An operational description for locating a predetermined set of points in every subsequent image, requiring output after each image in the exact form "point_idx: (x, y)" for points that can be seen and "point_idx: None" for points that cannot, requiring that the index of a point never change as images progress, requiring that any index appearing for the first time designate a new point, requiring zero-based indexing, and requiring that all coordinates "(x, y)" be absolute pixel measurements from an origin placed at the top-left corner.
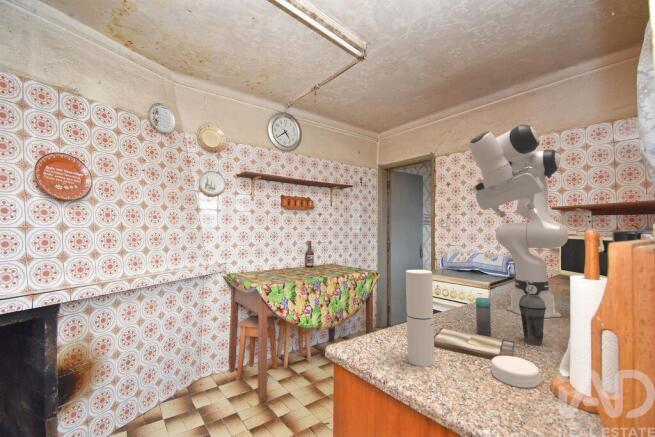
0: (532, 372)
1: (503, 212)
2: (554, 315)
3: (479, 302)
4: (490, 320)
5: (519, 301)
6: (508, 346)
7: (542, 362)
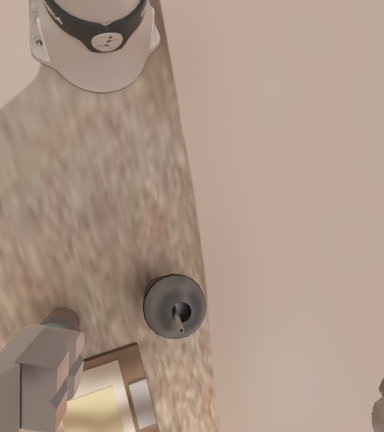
0: None
1: (61, 402)
2: (150, 51)
3: None
4: (75, 330)
5: (148, 321)
6: (145, 409)
7: (198, 388)
